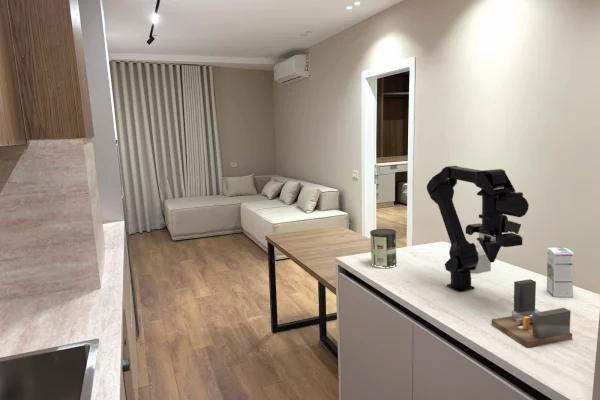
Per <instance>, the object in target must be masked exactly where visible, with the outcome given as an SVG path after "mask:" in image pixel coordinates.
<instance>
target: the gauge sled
mask: <svg viewBox="0 0 600 400" xmlns="http://www.w3.org/2000/svg"><path fill="white" fill-rule="evenodd" d="M513 283H514V285H513V309H511V316H512V319H514V320H516V323H517V324H522V325H523V317H525V316H528V317H530V323H533V313H536V312H541V311H540V310H538V309H536V295H537V294H536V291H537V289H536V288H537V281H535V280H534V279H533V280H532V279H531V278H529V279H523V280H517V281H514V282H513Z"/></svg>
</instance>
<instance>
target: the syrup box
mask: <svg viewBox="0 0 600 400" xmlns="http://www.w3.org/2000/svg"><path fill="white" fill-rule="evenodd" d="M574 258H575V253H574V251H572V250H570V249H568V248H567V247H563V246H562V247H561V246H560V247H559V246H556V247H547V259H546V260H547V266H546V267H547V268H546V269H547V270H546V291H547V292H548V293H549V294H550V295H551V296H552V297H554V298H573V296H574V271H575V270H574V262H575V259H574Z"/></svg>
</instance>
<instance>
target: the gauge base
mask: <svg viewBox="0 0 600 400" xmlns="http://www.w3.org/2000/svg"><path fill="white" fill-rule="evenodd" d="M571 313H572V312H571V310H569V309H567V308H565V307H560V308H555V309H549V310H543V311H540V312H536V313H533V323H530V329H524V328H523V325H522V324H517V323H516V320H514V319H512V315H509V316H505V317H498V318H493V319H491V325H492V326H493V327H494V328H496V329H498V330H499V331H501V332H502V333H503V334H505V335H507V336H508V337H510V338H511V339H513V340H514V341H516V342H518V343H519V344H520V345H522V346H524V347H525V348H526V349H529V348H533V347H534V348H535V347H538V346H540V347H541V346H544V345H549V344H555V343H560V342H566V341H570V340H573V333H572V332H570V331H571Z"/></svg>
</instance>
